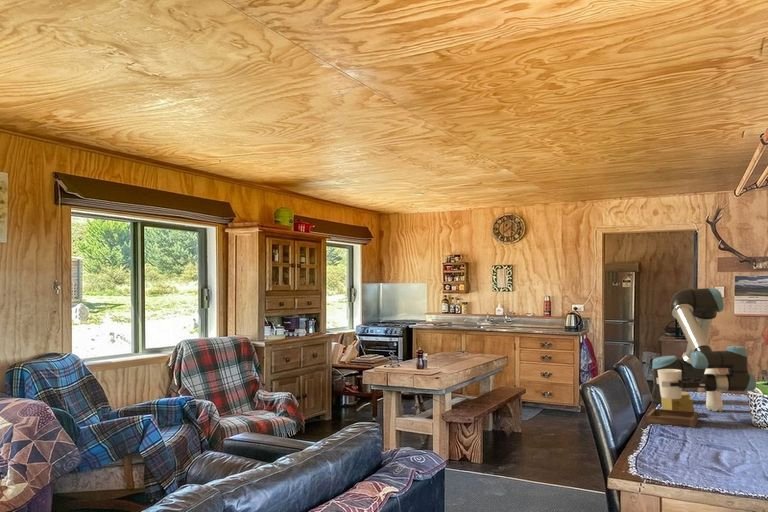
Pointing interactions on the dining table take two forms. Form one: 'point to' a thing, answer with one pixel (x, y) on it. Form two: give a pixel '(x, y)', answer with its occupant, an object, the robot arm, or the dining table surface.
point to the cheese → (678, 403)
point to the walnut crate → (672, 417)
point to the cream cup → (670, 376)
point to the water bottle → (713, 395)
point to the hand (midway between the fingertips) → (659, 382)
